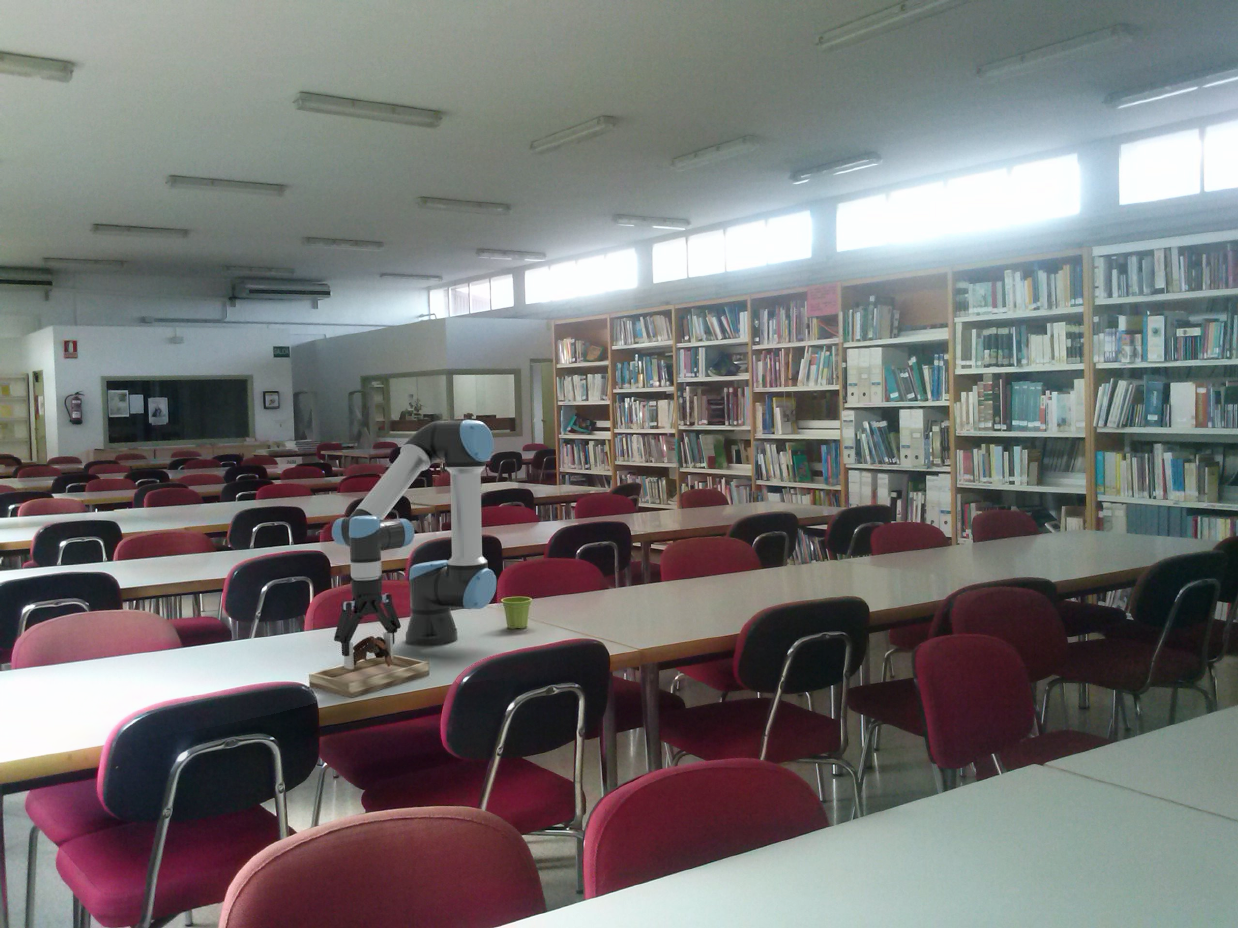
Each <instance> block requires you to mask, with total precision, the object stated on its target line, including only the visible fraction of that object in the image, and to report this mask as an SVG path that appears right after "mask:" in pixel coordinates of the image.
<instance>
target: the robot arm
mask: <svg viewBox="0 0 1238 928" xmlns="http://www.w3.org/2000/svg"><path fill="white" fill-rule="evenodd" d="M494 441H495V440H494V437H493V434H492V432H491V430H490V428H489V427H488V425H486V423H484V422H483V421H480V420H473V419H465V420H464V419H463V420H462V419H461V420H460V419H459V420H458V419H457V420H436V421H432V422H430V423H428V424H426V425H424V426H423V427H421V428H420V429H418V430H417V431H416V432H415V433H413V435H411V436H410V437H409V438H408V439H407V441H406V442H405V443H404V444H403V445H402V446H401V448H400V452H399V453H400V454H399V455H398V456H397V458H396V459H395V460H394V461H393V463H392V464H391V466H389V467H388V469H387V470H386V471H385V472H384V474H383V475H382V476H381V478H380V479H379V480H378V481H377V483H375V485H374V486H373V488H372V489H371V490H370V491H369V492H368V493H367V494H366V496H365V497H364V499H363V500H362V501H361V502H359V504H358V506H357V507H356V508H355V510H354V511H353V512H352V513H351V514H350V516H349V517H347V516H345V517H340V518H338V519H336V520H335V521H334V523H333V524H332V527H331V537H332V539H333V542H335V543H336V544H337V545H339V546H344V547H349V555H350V563H349V565H350V577H351V580H350V589H351V590H350V592H351V594H352V600H351V601H347V600H346V601H341V612H340V614H339V615H340V616H339V619H338V623H337V627H336V630H335V633H334V637H333V641H335V642H338V643H340V644H341V655H342V656H343V657H344V659H343V660H344V661H343V662H344V664H345V668H347V669H354V658H353V652H354V650H353V647H354V643H353V642H351V640H352V638H353V636H354V635H355V632H356V631H357V628H358V627H359V624H360V622H361V620H363V619H364V617H366V616H369V615H375V617H376V619H377V620H378V622H379V623H380V624H381V625H382V627H383V628H384V630H385V631H384V632H383V633H382V635H383V637H382V638H383V639H384V640H385V644H386V646H387V648H388V650H389V653H390V655H391V659H392V658H393V655H394V645H395V641H396V640H395V634H397V632H398V629H401V627H402V625H401V623H400V620H399V617H398V615H397V612H396V611H397V610H396V609H395V605H394V604H393V595H392V593H386V592H383V593H382V591H383V579H382V577H381V576H382V573H383V571H382V552H384V551H388V550H395V549H401V548H404V547H407V546H409V545H411V544H412V542H413V541H414V538H415V529H414V526H413V523H411V521H410V520H409V519H407V518H394V519H385V518H386V517H387V515H388V514H389V513H390V512H391V510H392V509H393V507H395V505H396V504H397V502H398V501H399V500H400V499H401V498H402V497H403V496H404V494H405V492H407V490H408V489H409V488H410V486H412V485H411V484H413V482H414V481H415V480H416V479H417V477H418V476H419V475H420V474H421V472H422V471H426V470H428V469H429V468H430V466H431V465H433V464H434V463H437V462H441V461H442V462H444V468H445V470H447V472H449V474H450V516H451V517H450V518H451V519H450V521H451V522H450V523H451V524H450V525H451V528H450V529H451V557H450V558H449V559H448V560H447V559H442V560H433V561H428V562H427V561H426V562H421V563H417V564H413V565H412V566H411V567H410V569H409V578H408V581H409V582H408V583H409V602H410V618H409V621H408V625H407V629H406V632H405V642H406V644H409V645H414V646H435V645H437V646H438V645H444V644H448V643H452V642H455V641H456V640H458V628H457V627H456V624H455V620H454V617H453V615H452V609H451V608H459V609H466V610H481V609H483V608H486V607H487V606H488V605H489V604H490V602H491V601H492V599H493V598H494V597H495V596H494V595H495V593H496V590H497V576H496V574H495V573H494V571H493V570H492V569H489V568H488V566H489V565H488V560H487V559H486V557H484V556H483V542H482V541H483V538H482V530H483V529H482V488H481V487H482V486H481V484H482V483H481V481H482V480H481V479H482V478H481V473H482V472H483V470H485V468H486V466H487V463H486V462H487V461H489V460H490V459H491V458H492V456H493V453H494V448H495V442H494ZM381 593H382V594H381ZM381 604H382V606H383V608H382V606H381ZM344 664H343V665H344Z"/></svg>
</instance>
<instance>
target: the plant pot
mask: <svg viewBox="0 0 1238 928" xmlns="http://www.w3.org/2000/svg"><path fill="white" fill-rule="evenodd" d="M532 600H533V599H532V598H531V597H528V596H510V597H504V598H501V599H500V601H501V603H502V606H503V608H504V613H505V614H504V615H505V620H506V626H507V628H508V629H512V630H515V629H517V628H518V629H524V628H527V627H528V620H529V613H530V606H531V603H532Z"/></svg>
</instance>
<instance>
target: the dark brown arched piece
mask: <svg viewBox="0 0 1238 928" xmlns="http://www.w3.org/2000/svg"><path fill="white" fill-rule="evenodd" d="M367 653H369V654H374V656H376V658H382V657H385V661H386V662H387V665H388V667H389V666H390V665H391V664H392V659H391V655H390V653H389V650H388V648H387V646H386V644H385V640H384V638H383V637H381V636H376V637H375V636H373V635H370V636H367V637H364V638H363V639H362V640H359V641H358V642H357V643H356V644H355V645H353V658H354V665H356V664H357V662H358V661H360V660H367V659H366V658H367V656H368V655H367Z"/></svg>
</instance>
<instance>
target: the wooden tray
mask: <svg viewBox="0 0 1238 928" xmlns="http://www.w3.org/2000/svg"><path fill="white" fill-rule="evenodd" d="M366 659H367V660H360V661H358V662H357V664H356V665H354V669H347V668H345V664H339V665H336V666H334V667H329V668H326V669H325V668H324V669H322V670H318V671H315V672H314V671H313V672H310V673H308V680H309V681H308V683H309V687H310V688H315V689H318V690H320V691H321V690H322V691H326V692H329V693H333V694H336V693H337V694H336V695H340V694H341V696H344V697H347V696H348V698H351V697H353V698H356V697H359V696H362V694H363V695H365V693H366V694H369V693H372V692H375V691H379V690H382V689H386V688H389V687H392V686H395V685H399V684H402V682H403V683H406V682H409V681H412V680H416V679H418V678H419V679H420V678H422V677H426V676H429V675H430V662H429V661H426V660H425V661H424V660H420V659H415V658H411V657H406V656H402V655H396V654H393V658H392V664H391V665H390V666H389V667H388V665H387V662H386V661H385V657H382V658H376V656H375V655H374V656H370V657H366ZM358 695H359V696H358ZM355 696H356V697H355Z"/></svg>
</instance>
